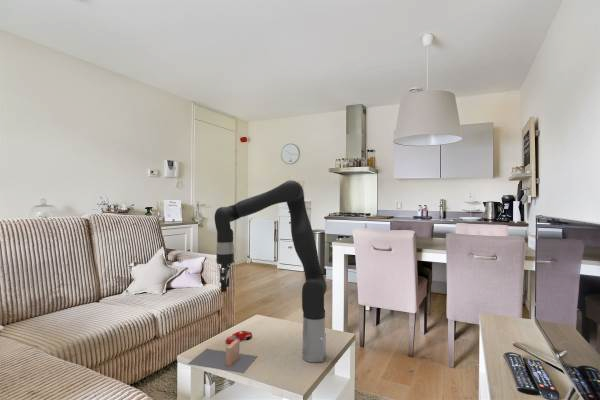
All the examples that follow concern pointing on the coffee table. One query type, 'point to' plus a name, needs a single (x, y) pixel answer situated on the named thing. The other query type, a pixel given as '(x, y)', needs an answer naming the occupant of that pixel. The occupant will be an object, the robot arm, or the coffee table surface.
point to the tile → (232, 353)
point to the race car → (239, 336)
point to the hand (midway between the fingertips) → (225, 289)
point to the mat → (222, 361)
